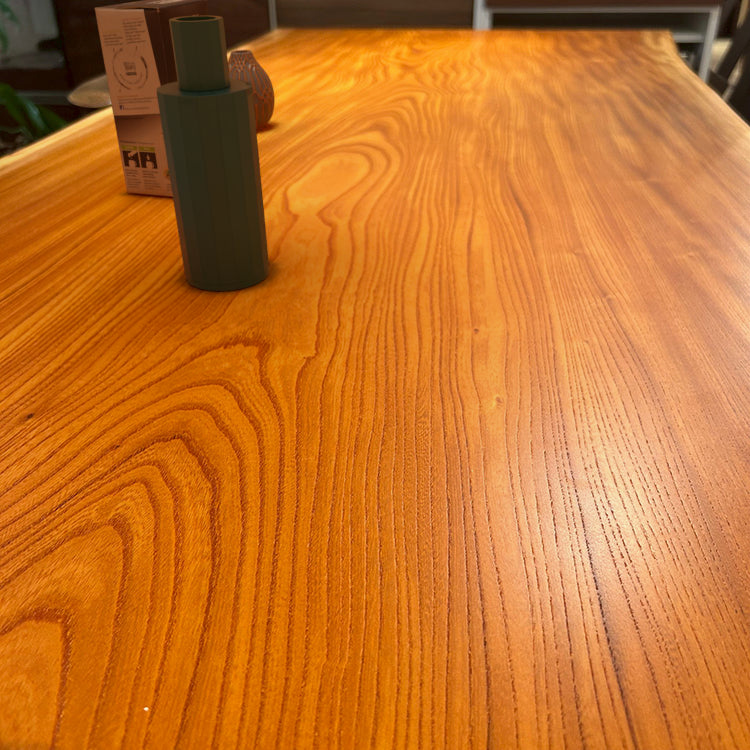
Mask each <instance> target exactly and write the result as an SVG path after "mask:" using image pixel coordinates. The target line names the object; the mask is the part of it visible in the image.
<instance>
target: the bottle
mask: <svg viewBox="0 0 750 750" xmlns="http://www.w3.org/2000/svg"><path fill="white" fill-rule="evenodd" d="M169 24H170V31H171V38H172V45H173V52H174V59H175V66H176V73H177V80H178V81H177V82H173V83H168V84H165V85H162V86H160V87H158V88H157V98H158V105H159V111H160V118H161V124H162V131H163V137H164V143H165V150H166V156H167V163H168V169H169V176H170V182H171V188H172V195H173V197H172V201H173V207H174V215H175V221H176V227H177V233H178V239H179V246H180V253H181V258H182V265H183V271H184V275H185V280H186V282H187V283H188V285H190V286H192V287H193V288H196V289H200V290H203V291H209V292H228V291H237V290H242V289H247V288H249V287H252V286H256V285H257V284H259V283H261V282H263V281H264V280H266V278H268V276H269V274H270V260H269V259H270V258H269V250H268V239H267V229H266V218H265V208H264V206H265V205H264V197H263V196H264V195H263V186H262V175H261V166H260V154H259V153H260V152H259V144H258V143H259V141H258V134H257V133H258V132H257V130H256V121H255V111H254V100H253V89H252V85H251V83H250V82H247V81H244V80H238V79H230V77H229V68H228V60H229V58H228V51H227V41H226V32H225V24H224V17H222V16H221V15H220V16H219V15H208V16H185V17H176V18H172V19H169Z"/></svg>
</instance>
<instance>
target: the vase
mask: <svg viewBox="0 0 750 750" xmlns="http://www.w3.org/2000/svg"><path fill="white" fill-rule="evenodd" d="M228 68H229V77H230V79H238V80H244V81H247V82H250V83H251V85H252V89H253V100H254V111H255V121H256V131H258V130H262V129H264V128H265V127H267V125H268V123H269V122H270V121H271V119H272V118H273V115H274V111H275V104H276V103H275V100H276V99H275V90H274V86H273V83H272V80H271V78H270V76H269V74H268V72H266V70H265V69H264V68H263V67H262V65H261V64H260V63H259V62H258V60H257V59H256V57H255V56H254V54H253V51H252V50H250V49H235V50H232V51H230V54H229V58H228Z"/></svg>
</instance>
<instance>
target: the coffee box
mask: <svg viewBox="0 0 750 750" xmlns="http://www.w3.org/2000/svg"><path fill="white" fill-rule="evenodd" d="M94 12H95V19H96V24H97V29H98V35H99V42H100V47H101V53H102V58H103V63H104V69H105V76H106V81H107V86H108V91H109V93H108V94H109V98H110V103H111V104H110V105H111V110H112V114H113V121H114V125H115V127H114V128H115V131H116V132H115V133H116V137H117V143H118V150H119V155H120V160H121V165H122V173H123V177H124V183H125V190H126V193H129V194H137V195H138V194H140V195H150V196H161V197H168V198H169V197H171V198H173V195H172V188H171V182H170V176H169V169H168V163H167V156H166V150H165V143H164V137H163V131H162V124H161V118H160V111H159V105H158V98H157V88H158V87H160V86H162V85H165V84H168V83H173V82H177V81H178V80H177V73H176V66H175V59H174V52H173V45H172V38H171V31H170V24H169V19H172V18H176V17H185V16H209V9H208V0H137V1H131V2H125V3H123V2H122V3H117V4H110V5H104V6H97V7H94Z"/></svg>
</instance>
